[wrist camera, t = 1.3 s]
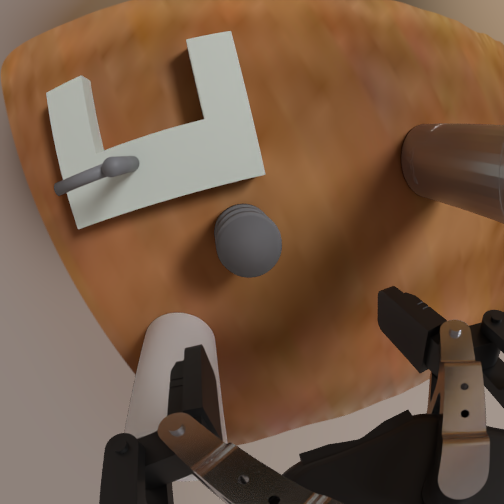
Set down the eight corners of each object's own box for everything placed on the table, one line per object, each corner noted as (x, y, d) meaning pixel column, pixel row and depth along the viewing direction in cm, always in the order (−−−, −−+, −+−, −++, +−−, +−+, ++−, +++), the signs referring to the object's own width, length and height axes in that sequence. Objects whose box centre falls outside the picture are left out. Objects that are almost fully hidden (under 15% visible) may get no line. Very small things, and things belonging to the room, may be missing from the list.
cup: (136, 317, 30) (103, 431, 15) (208, 307, 31) (219, 426, 16) (156, 371, 33) (144, 482, 18) (220, 364, 34) (237, 477, 19)
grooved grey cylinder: (262, 196, 28) (277, 207, 22) (273, 247, 30) (289, 269, 24) (207, 210, 28) (208, 225, 22) (221, 261, 30) (226, 287, 24)
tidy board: (228, 40, 22) (239, 0, 14) (260, 172, 27) (283, 180, 19) (56, 96, 21) (13, 82, 13) (87, 223, 26) (49, 249, 18)
